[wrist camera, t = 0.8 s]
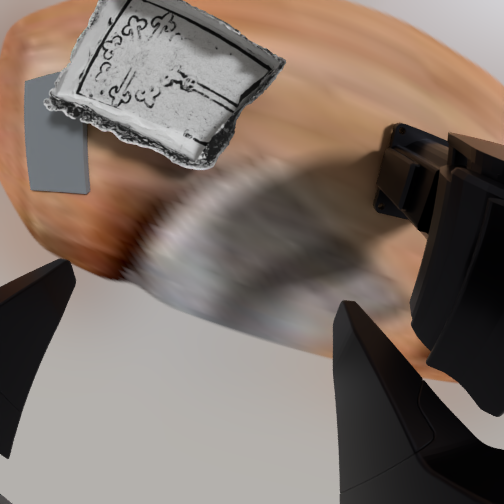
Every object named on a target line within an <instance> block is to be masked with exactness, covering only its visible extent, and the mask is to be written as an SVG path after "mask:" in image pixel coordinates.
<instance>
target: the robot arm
mask: <svg viewBox="0 0 504 504" xmlns="http://www.w3.org/2000/svg"><path fill="white" fill-rule="evenodd" d="M401 127H402V128H403V133H401V134H400V132H399V129H400V128H401ZM377 185H378V190H377V193H376V196H375V200H374V203H373V206H374V209H375V210H376V211H377V212H378V213H382V214H386V215H391V216H395V217H399V218H403V219H407V220H410V221H411V222H412V224H413V225H414V226H415V227H416V228H417V229H418V230H419V231H420V232H421V233H422V234H423V235H424V236H425V238H426V239H427V243H426V247H425V251H424V255H423V258H422V262H421V266H420V269H419V273H418V276H417V280H416V283H415V286H414V289H413V293H412V296H411V299H410V309H411V316H412V322H411V326H412V328H413V330H414V332H415V334H416V335H417V337H418V338H419V339H420V340H421V342H422V343H423V344H424V345H425V346H426V347H427V348H428V349H429V350H430V351H431V353H430V355H429V356H428V358H427V360H426V364H427V365H428V366H430V367H433V368H435V369H437V370H440V371H442V372H444V373H446V374H447V375H449V376H450V377H452V378H453V379H454V380H456V381H457V382H459V384H460V385H462V387H463V388H464V389H465V390H466V391H467V392H468V394H469V395H470V396H471V397H472V399H473V400H474V401H475V402H476V404H477V405H478V406H479V408H480V409H482V410H483V411H485V412H487V413H489V414H491V415H493V416H496V417H499V416H501V415H502V414H503V413H504V145H501V144H497V143H494V142H490V141H486V140H482V139H478V138H474V137H469V136H464V135H460V134H455V133H449V132H448V141H446V140H444V139H441V138H439V137H437V136H434V135H432V134H429V133H427V132H424V131H422V130H419V129H417V128H414V127H411V126H409V125H406V124H403V123H397V124H395V126H394V128H393V133H392V137H391V141H390V145H389V148H387V149H386V150H385V153H384V157H383V161H382V165H381V169H380V172H379V176H378V180H377ZM380 203H383V206H382V207H380V208H379V207H378V205H379V204H380ZM75 284H76V278H75V275H74V272H73V268H72V265H71V263H70V261H69V260H66V259H57V260H55V261H53V262H51V263H49V264H46V265H44V266H42V267H40V268H38V269H36V270H34V271H32V272H29V273H27V274H25V275H23V276H21V277H19V278H17V279H15V280H13V281H11V282H9V283H7V284H5V285H3V286H1V287H0V454H1V455H2V456H4V457H5V458H7V459H9V457H10V453H11V449H12V445H13V441H14V437H15V434H16V431H17V427H18V424H19V421H20V417H21V414H22V411H23V407H24V405H25V402H26V399H27V396H28V393H29V391H30V388H31V386H32V383H33V380H34V378H35V375H36V373H37V371H38V368H39V366H40V363H41V361H42V358H43V356H44V354H45V352H46V350H47V348H48V345H49V343H50V341H51V339H52V337H53V335H54V332H55V331H56V329H57V326H58V325H59V322H60V320H61V318H62V316H63V313H64V311H65V308H66V306H67V303H68V301H69V299H70V296H71V294H72V291H73V289H74V287H75ZM333 379H334V389H335V400H336V413H337V428H338V445H339V468H340V469H339V471H340V504H504V450H502V449H497V448H493V447H490V446H488V445H486V444H484V443H482V442H481V441H480V440H479V439H477V438H476V437H475V436H474V435H473V434H472V432H471V431H470V430H469V429H468V428H467V427H466V426H465V425H464V424H463V423H462V422H461V421H460V420H459V419H458V418H457V417H456V416H455V415H454V414H453V413H452V412H451V411H450V409H449V408H448V407H447V406H446V405H445V404H444V403H443V402H442V401H441V400H440V399H439V397H438V396H437V395H436V394H435V393H434V392H433V390H432V389H431V388H430V387H429V386H428V384H427V383H426V382H425V381H424V380H422V377H421V376H420V375H419V374H418V372H417V371H416V370H415V369H414V368H413V366H412V365H411V364H410V363H409V362H408V361H407V359H406V358H405V357H404V356H403V355H402V354H401V352H400V351H399V350H398V349H397V348H396V347H395V345H394V344H393V343H392V342H391V341H390V340H389V339H388V337H387V336H386V335H385V334H384V333H383V332H382V331H381V329H380V328H379V327H378V326H377V325H376V324H375V323H374V322H373V320H372V319H371V318H370V317H369V316H368V315H367V314H366V313H365V312H364V310H363V309H362V308H361V307H360V306H359V305H358V304H357V303H356V302H355V301H347V300H343V301H342V302H341V303H340V306H339V308H338V311H337V314H336V316H335V319H334V323H333ZM0 504H12V503H11V502H9V501H8V500H7V499H6V498H5V497H3V496H2V495H1V494H0Z"/></svg>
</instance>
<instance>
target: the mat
mask: <svg viewBox="0 0 504 504" xmlns="http://www.w3.org/2000/svg"><path fill="white" fill-rule="evenodd" d="M60 73H61V72H57V73H53V74H49V75H46V76H42V77H38V78H35V79H31V80H28V81H25V95H24V123H25V143H26V156H27V166H28V174H29V181H30V188H31V190H39V191H54V192H67V193H80V194H87V193H89V192H90V182H89V169H88V150H87V123H84V122H81V121H80V117H81V115H80V116H78V117H76V118H75V119H71V118H70V117H69V116H66V115H65V113H64V112H63V111H55V110H53V111H49V110H48V109H46V106H45V105H44V102H43V101H44V99H46V98H49V97H50V95H49V91H50V90H51V89H52V88H55V84H54V82H55V81H56V80H57V78H58V76H59V74H60Z"/></svg>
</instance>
